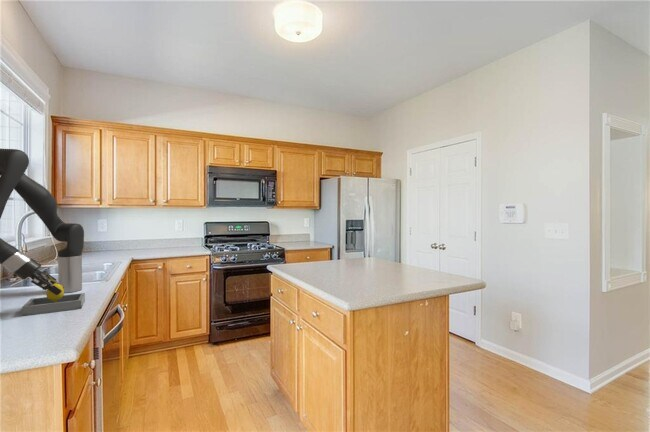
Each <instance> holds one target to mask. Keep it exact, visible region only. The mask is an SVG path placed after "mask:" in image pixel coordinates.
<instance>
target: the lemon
mask: <svg viewBox="0 0 650 432" xmlns="http://www.w3.org/2000/svg"><path fill="white" fill-rule="evenodd" d="M57 283H58V282H56V283H54V284H53V286H56V287H57V288H59V289H60V290H61V291H62V292H61V293H60V294H58V295H55V294H54V293H52V292H51V291H49V290H46V297H47V298H48V299H49V300H51V301H53V302H57V301H58V300H60V299H61V298H62V297H63V295H65V293H64V289H63V286H62V285H60V284H57Z"/></svg>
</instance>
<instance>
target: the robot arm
mask: <svg viewBox="0 0 650 432" xmlns="http://www.w3.org/2000/svg"><path fill="white" fill-rule="evenodd" d="M29 164H30V159H29V156H28V155H27V153H26V152H25V151H23V150H21V149H17V148H15V149H13V148H0V219H1V218H2V216H3V213H4V211H5V207H6V205H7V204H8V201H9V199H10V197H11V195H12V193H13V191H15V192H16V193H17V194H18V195H19V196H20V197H21V199H23V201H24V202H25V204H27V206H28V207H29V208H30V209H31V210H32V212H34V213H35V214H36V215H37V217H38V219H40V220H41V222H43V224H44V225H45V227H46V228H47V229H48V231H49V233H50V234H51V235H52V237H53V239H55V240H56V241H58V242H61V243H66V247H64V248H62V249H60V250H58V252H57V279H56V278H55V277H53V276H52V275H51V274H50V273H48V272H47V271H46V270H43V271H42V270H39V269H40V268H41V267H42V264H41V263H39V262H38V261H36V260H35V259H34V258H33V257H31V256H29V255H28V254H26V253H25V252H22V251H20V250H19V248H18V249H17V248H16V247H15V246H14V245H12V244H11V243H8V242H6V241H5V240H4V239H2V238H1V237H0V265H1V266H3V267H4V268H5V269H6V270H7V271H9V272H11V273H12V274H14V275H15V276H17V277H18V278H20V279H21V280H24V281H25V280H26V279H28V278H30V279H31V281H30V283H32V284H34V285H36V286H37V287H39V288H41V289H42V290H44V291H47V290H49V291H51V292H52V293H54V294H55V295H58V294H60V293H61V292H62V291H61V290H60V289H59V288H57V287H56V286H53V284H54V283H57V284H60V285H62V286H63V289H64V294H65V293H66V294H67V293H74V292H79V291H81V290H83V259H82V258H83V256H82V255H83V250H84V246H85V244H84V243H85V231H84V227H83V225H82V224H80V223H76V222H75V223H74V222H73V223H71V222H70V223H69V222H67V223H65V222H64V221H63V220H62V219H61V218H60V217H59V215H58V203H57V200H56V198H55V197H54V195H52V193H51V192H50V191H49V190H48V189H47V188H46V187H45V186H44V185H42V184H40V183H39V182H37V181H35V179H33V178H31V177H29V176H28V175H27V174H25V172H26V170H27V169H28V167H29Z"/></svg>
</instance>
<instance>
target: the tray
mask: <svg viewBox="0 0 650 432" xmlns="http://www.w3.org/2000/svg"><path fill="white" fill-rule="evenodd" d="M85 301H86V293H85V292H80V293H71V294H64V295H63V297H62V298H61V299H60V300H58V301H57V302H53V301H51V300H49V299H48V298H47V296H43V297H34V298H33V297H32V298H30V299H29V300H28V301H27V302H26V303H25V304H24V305H23V306H22V307H21V316H22V317H27V316H35V315H40V314H50V313H57V312H65V311H74V310H82V308H83V306H84V304H85Z"/></svg>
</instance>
